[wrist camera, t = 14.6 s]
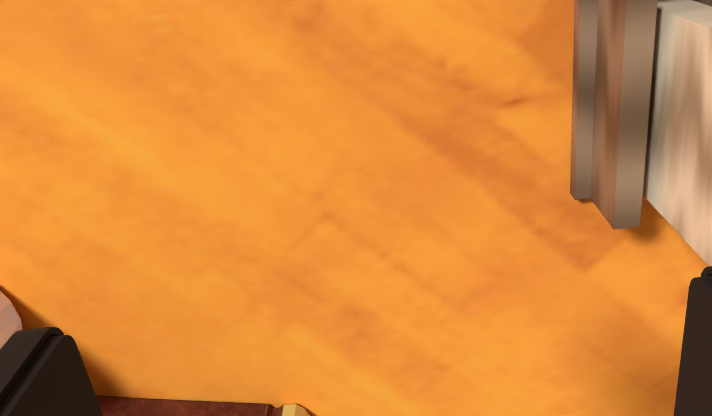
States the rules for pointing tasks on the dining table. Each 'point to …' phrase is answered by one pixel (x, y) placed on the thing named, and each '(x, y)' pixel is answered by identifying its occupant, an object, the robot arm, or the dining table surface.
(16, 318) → the soap bottle
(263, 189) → the dining table surface
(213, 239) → the dining table surface
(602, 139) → the stand
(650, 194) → the birch sheet
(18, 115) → the dining table surface
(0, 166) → the dining table surface
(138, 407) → the decorative book
